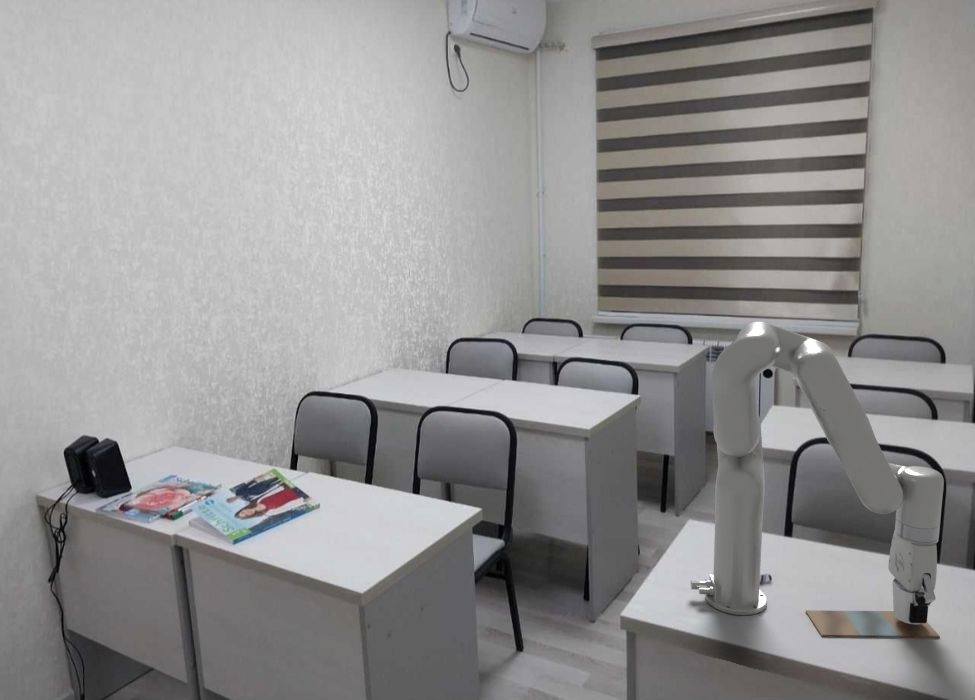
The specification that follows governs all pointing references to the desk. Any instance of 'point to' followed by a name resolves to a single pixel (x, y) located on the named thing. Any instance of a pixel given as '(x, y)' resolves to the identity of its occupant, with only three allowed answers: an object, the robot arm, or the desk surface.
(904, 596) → the white cup
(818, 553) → the desk surface
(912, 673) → the desk surface
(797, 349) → the robot arm
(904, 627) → the game board
